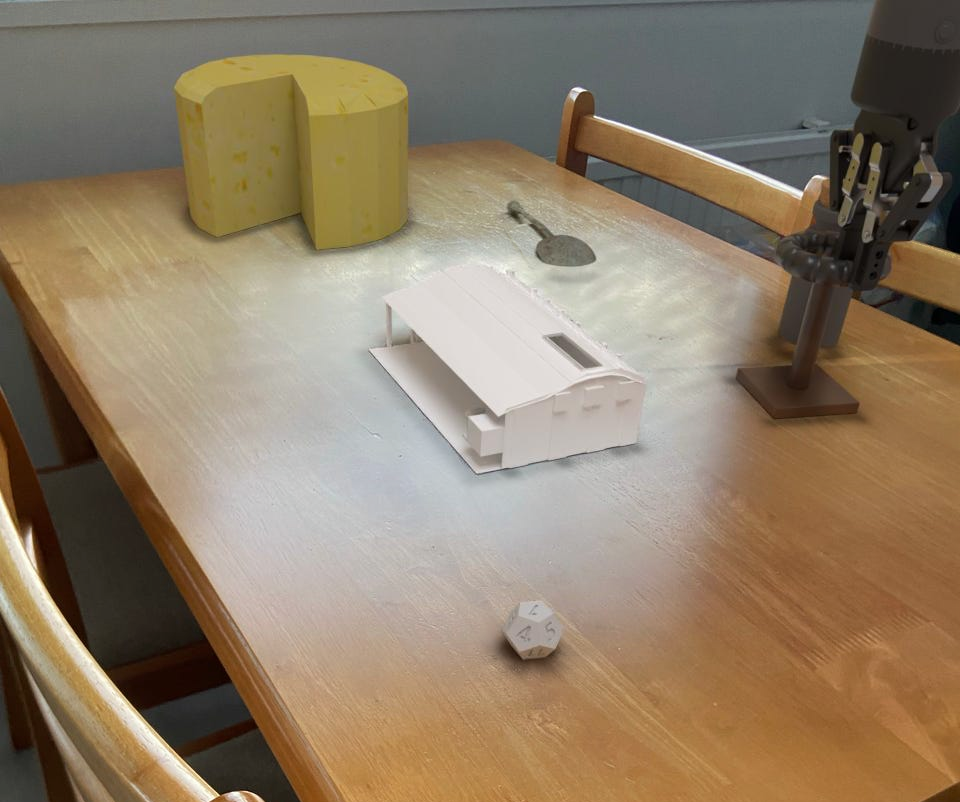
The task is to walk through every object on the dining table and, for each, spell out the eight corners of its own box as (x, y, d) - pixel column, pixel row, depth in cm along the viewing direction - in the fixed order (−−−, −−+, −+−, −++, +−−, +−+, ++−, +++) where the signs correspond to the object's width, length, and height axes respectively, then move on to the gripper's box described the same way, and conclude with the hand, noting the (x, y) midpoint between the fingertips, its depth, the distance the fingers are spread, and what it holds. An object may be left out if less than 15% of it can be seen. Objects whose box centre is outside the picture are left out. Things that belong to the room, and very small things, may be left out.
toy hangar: (365, 346, 94) (363, 272, 90) (505, 326, 99) (510, 255, 95) (478, 477, 77) (483, 393, 73) (640, 444, 82) (654, 364, 78)
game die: (568, 640, 63) (573, 602, 61) (545, 675, 60) (550, 637, 58) (516, 623, 64) (520, 585, 62) (491, 657, 61) (494, 618, 59)
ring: (853, 250, 88) (860, 226, 86) (908, 288, 81) (916, 263, 79) (755, 252, 86) (760, 228, 85) (803, 292, 79) (809, 266, 78)
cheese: (243, 264, 109) (227, 110, 99) (159, 195, 125) (138, 58, 115) (448, 230, 120) (452, 90, 111) (347, 171, 137) (342, 45, 127)
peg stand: (814, 373, 94) (847, 254, 87) (856, 413, 89) (896, 289, 82) (735, 378, 93) (763, 257, 86) (774, 419, 87) (806, 293, 80)
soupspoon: (546, 284, 110) (601, 284, 112) (551, 254, 108) (607, 253, 110) (488, 213, 126) (537, 213, 127) (491, 184, 123) (541, 185, 125)
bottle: (764, 335, 101) (802, 176, 91) (814, 330, 102) (857, 174, 93) (795, 360, 97) (839, 196, 87) (847, 354, 98) (896, 193, 88)
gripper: (1033, 54, 65) (941, 314, 76) (916, 16, 75) (850, 251, 87) (931, 53, 64) (853, 319, 75) (826, 15, 74) (770, 253, 85)
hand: (852, 281), depth 81 cm, fingers closed on ring, 2 cm apart
